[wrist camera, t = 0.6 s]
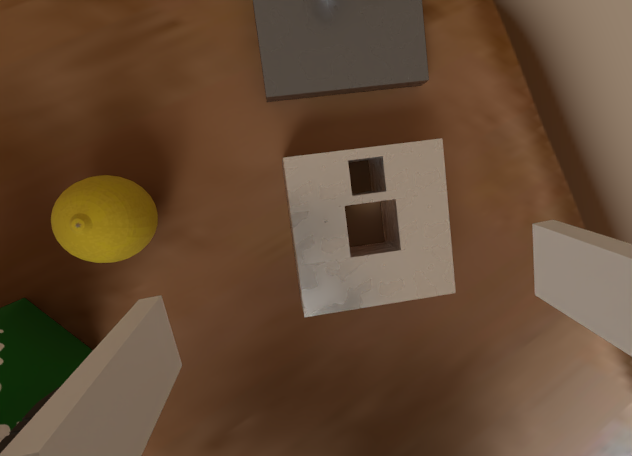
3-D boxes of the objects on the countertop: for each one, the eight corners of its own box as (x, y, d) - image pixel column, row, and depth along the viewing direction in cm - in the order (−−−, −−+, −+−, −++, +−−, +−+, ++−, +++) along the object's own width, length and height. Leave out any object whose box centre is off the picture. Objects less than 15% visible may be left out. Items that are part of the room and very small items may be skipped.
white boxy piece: (432, 279, 31) (455, 292, 27) (300, 300, 30) (304, 317, 26) (420, 144, 30) (442, 138, 26) (281, 161, 29) (283, 157, 25)
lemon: (111, 261, 28) (48, 290, 21) (80, 191, 28) (3, 192, 20) (182, 236, 29) (147, 255, 21) (154, 166, 28) (107, 158, 20)
